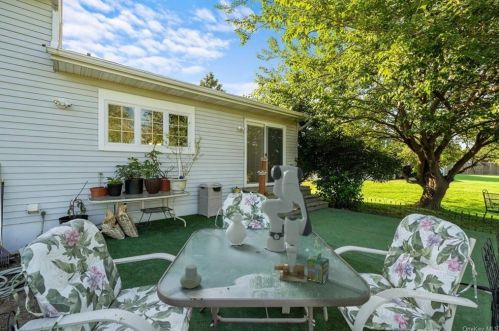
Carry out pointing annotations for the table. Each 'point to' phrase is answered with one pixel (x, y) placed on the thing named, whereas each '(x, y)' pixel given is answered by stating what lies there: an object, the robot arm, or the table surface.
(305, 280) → the bottle rest
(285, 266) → the amber bottle
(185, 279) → the air freshener
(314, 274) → the chalk box
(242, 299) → the table surface
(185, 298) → the table surface
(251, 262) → the table surface
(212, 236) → the table surface
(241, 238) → the decorative vase
